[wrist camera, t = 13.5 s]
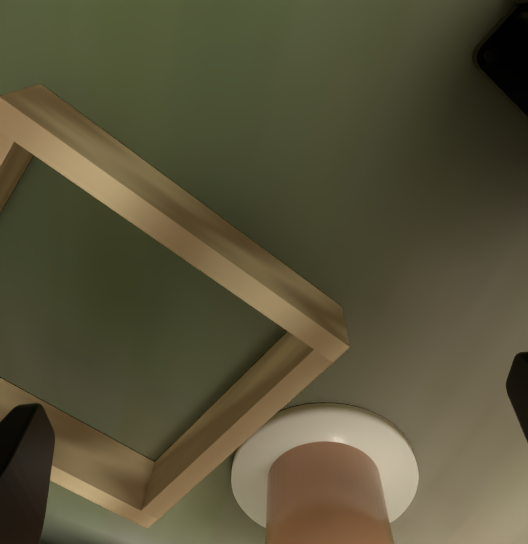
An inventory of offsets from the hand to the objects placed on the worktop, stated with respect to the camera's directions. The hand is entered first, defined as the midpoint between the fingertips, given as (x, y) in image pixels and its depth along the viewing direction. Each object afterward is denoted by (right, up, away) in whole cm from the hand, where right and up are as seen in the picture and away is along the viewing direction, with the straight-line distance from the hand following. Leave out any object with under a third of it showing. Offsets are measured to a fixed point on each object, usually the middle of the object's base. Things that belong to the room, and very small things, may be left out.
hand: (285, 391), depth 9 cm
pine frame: (-7, 0, +14) cm, 16 cm away
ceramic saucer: (+3, -9, +18) cm, 20 cm away
